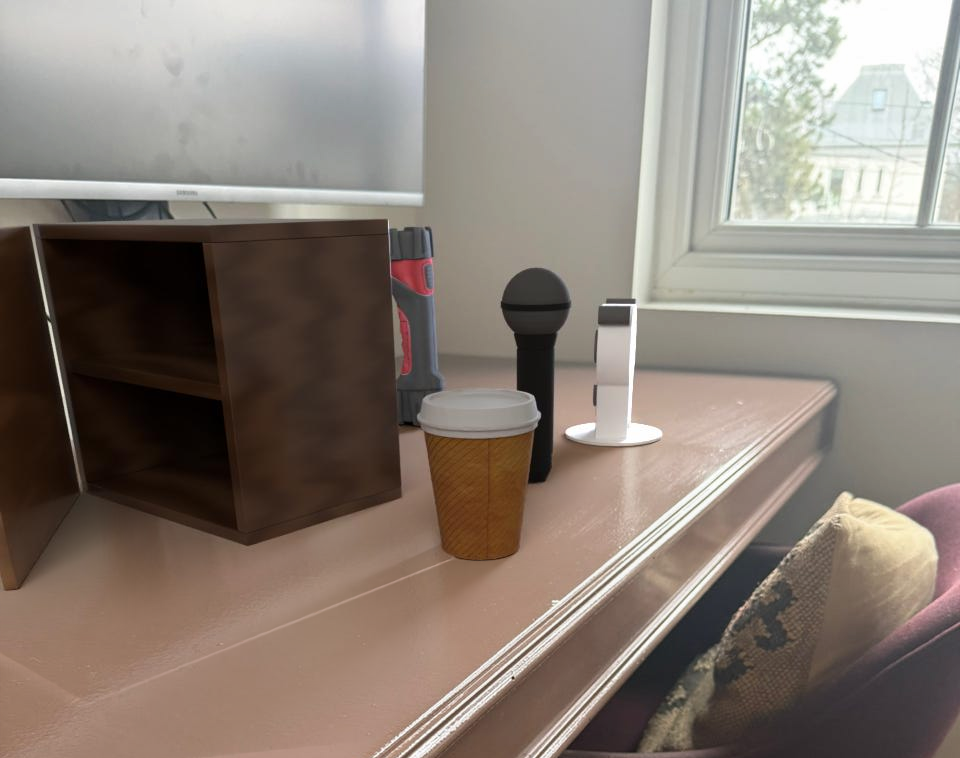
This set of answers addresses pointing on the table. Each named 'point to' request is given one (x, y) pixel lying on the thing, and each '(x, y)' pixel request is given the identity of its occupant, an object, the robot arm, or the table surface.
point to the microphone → (537, 350)
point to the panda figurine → (614, 381)
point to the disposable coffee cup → (479, 467)
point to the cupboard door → (29, 416)
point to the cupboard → (228, 367)
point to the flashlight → (415, 318)
